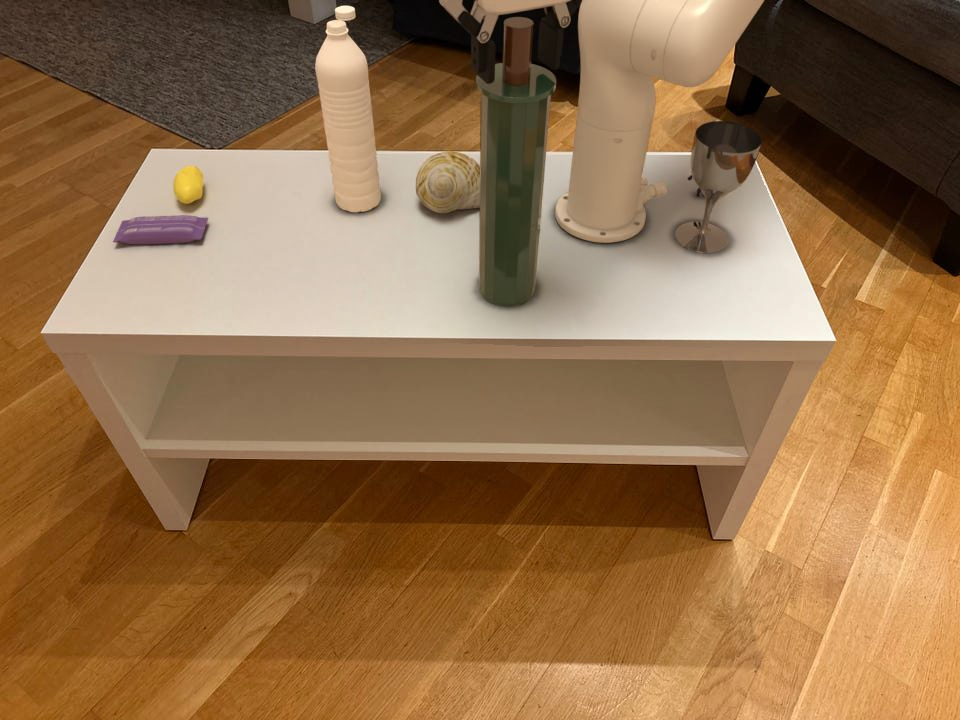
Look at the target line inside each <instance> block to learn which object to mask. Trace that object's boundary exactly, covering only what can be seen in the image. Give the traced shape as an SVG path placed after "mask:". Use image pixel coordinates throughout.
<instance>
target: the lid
mask: <svg viewBox="0 0 960 720" xmlns="http://www.w3.org/2000/svg"><path fill="white" fill-rule="evenodd" d="M534 25H535V24H534V21H533V20H532V19H530V18H528V17H523V16H513V17H509V18H506V19H504V21H503V38H502V62H500V63H495V81H493V83H490V84H486V83H485V82H484V81H483V80H482V79H481V78H480V77H479V76H478V75H477V74H476V78H475V86H476V89H477V91H478V92H479V93H480V95H481V94H483V95H484V96H486V97H488V98H490V99H493V100H496V101H500V102H506V103H530V102H536V101H539V100H542V99H545V98H547V97H548V96H550V95H551V96H552V95H553V94H554V93H555V91H556V88H557V77H556V76H555V74H554V73H553V72H551V71H550V70H549V69H547V68H545V67H543V66H541V65H537V64H534V63H532V57H533V55H532V54H533V40H534Z"/></svg>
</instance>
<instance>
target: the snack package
mask: <svg viewBox="0 0 960 720" xmlns="http://www.w3.org/2000/svg"><path fill="white" fill-rule="evenodd" d="M208 220H209V217H201V216H200V217H199V216H198V215H197V216H196V215H188V214H181V215H154V216H153V215H152V216H136V217H132V218H130V219H124V220H122V221H121V222H120V225H119V227H118V230H117V231H116V234H115V236H114V238H113V241H112V243H124V244H128V245H161V244H187V243H192V242H194V241H198V240H202V239H203V236H204V233H205V230H206V227H207V223H208Z"/></svg>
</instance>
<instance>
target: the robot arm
mask: <svg viewBox="0 0 960 720" xmlns="http://www.w3.org/2000/svg"><path fill="white" fill-rule="evenodd" d="M463 1H464V0H438V2H439V4H440V6H442V8H443V9H444V10H445V11H446V12H447V13H448V15H450V16H452V18H453V19H454V20H455V21H456V22H457V23H458V24H459V25H460V26H461V27H462V28H463V29H464V30H465V31H467V33H468V34H470V36H471V37H470V38H471V39H470V48H471V49H470V63H471V64H470V65H471V69H472V71H473V73H475V74H476V76H477V75H478V76H479V77H480V78H481V79H482V80H483V81H484V82H485V83H486V84H490V83H493V81H495V64H496V43H495V41H494V40H493V39H491V36H492V35H493V34H492V33H493V31H494V29H495V26H496V24H497V21H498V19H499V16H503V15H509V14H515V13H520V12H526V11H527V12H528V11H532V10H537V9H543V10H544V13H545V17H541V18H540V21H539V31H538V46H537V59H538V60H539V61H540V62H541V63H542V64H544V65H545V66H546V67H548V68H549V69H550V70H552V71H555V70H559V69H560V63H561V56H562V54H563V46H564V34H565V28H567V27H568V26H569V25H570V23H571V20H572V19H571V17H572V16H573V15H574V13H576V11H577V10H578V8H579V11H578V19H577V34H578V35H577V36H578V47H579V59H580V78H579V93H578V102H577V109H576V119H575V129H574V137H573V138H574V139H573V147H572V155H571V166H570V175H569V184H568V191H567V192H566V193H564V194H563V195H562V196H560V197H559V199H558V200H557V201H556V204H555V208H554V209H555V210H554V215H555V219H556V221H557V223H558V225H559V226H560V228H562V229H563V230H564V231H565V232H567V233H568V234H570V235H571V236H574V237H575V238H578V239H581V240H582V241H583V240H584V241H587V242H594V243H599V244H600V243H602V244H603V243H607V244H610V243H619V242H623V241H627V240H630V239H631V238H633V237H635V236H636V235H638V234H639V233H640V232H641V231H642V230H643V228H644V226H645V224H646V219H647V211H646V209H645V207H644V204H646V203H647V202H648V201H649V199H655V198H659V197H663V196H665V195H667V185H666V183H665V182H664V181H659V182H655V183H652V184H650V185H649V181H648V178H647V177H646V176H643V174H644V170H645V169H644V168H645V164H646V156H647V154H648V148H649V142H650V137H651V132H652V125H653V121H654V115H655V111H656V103H657V101H656V100H657V98H656V97H657V96H656V87H655V83H654V78H655V79H658V80H660V81H663V82H666V83H669V84H672V85H676V86H679V87H684V88H696V87H700V86H702V85H704V84H705V83H707V82H708V81H709V80H710V79H711V78H712V77H713V76H714V75H715V73H717V71H718V70H719V68H720V67H721V66H722V64H723V63H724V62H725V60H726V58H727V57H728V55H729V54H730V53H731V52H732V49H734V47H735V45H736V44H737V42H738V41H739V39H740V37H741V36H742V35H743V34H744V32H745V30H746V29H747V28H748V26H749V24H750V23H751V21H752V20H753V18H754V17H755V15H756V14H757V13H758V11H759V10H760V8H761V7H762V5H763V3H764V2H765V0H474V2H473V4H472V8H471V11H470V12H469V11H468V10H467V9H466V8H465V6H464V5H463Z"/></svg>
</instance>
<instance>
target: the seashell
mask: <svg viewBox="0 0 960 720" xmlns="http://www.w3.org/2000/svg"><path fill="white" fill-rule="evenodd" d="M415 193H416V196H417V198H418V199H419V201H420V203H421V204H422V205H423V206H424V207H425V208H426V209H428V210H430V211H432V212H434V213H437V214H449V213H451V212H454V211H455V210H457V209H458V210H460V211H461V210H470V209H478V208H480V163H478V162H477V161H476V160H475V159H474V158H473V157H470V156H469V155H467V154H465V153H462V152H459V151H453V150H444V151H441V152H438V153H436V154H433V155H431V156H429V157H428V158H426V160H425V161H423V163H422V164H421V165H420V167H419V169H418V171H417V175H416V178H415Z"/></svg>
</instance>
